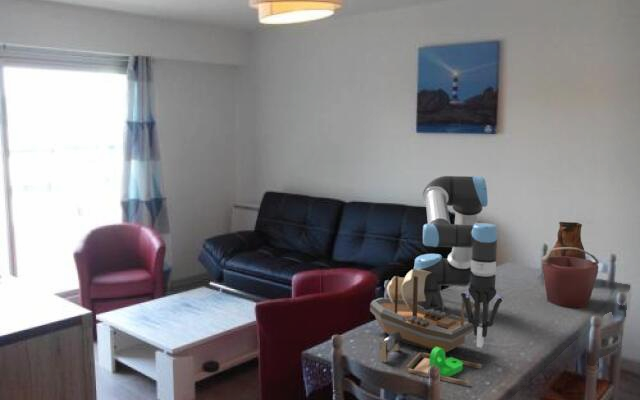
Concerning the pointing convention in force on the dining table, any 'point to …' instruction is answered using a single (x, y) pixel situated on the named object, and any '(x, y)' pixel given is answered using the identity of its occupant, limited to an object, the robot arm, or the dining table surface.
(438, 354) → the mechanical part
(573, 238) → the pitcher
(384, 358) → the winch
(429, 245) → the robot arm
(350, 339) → the dining table surface
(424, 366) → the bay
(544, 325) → the dining table surface
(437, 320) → the sailing ship
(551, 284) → the bucket
